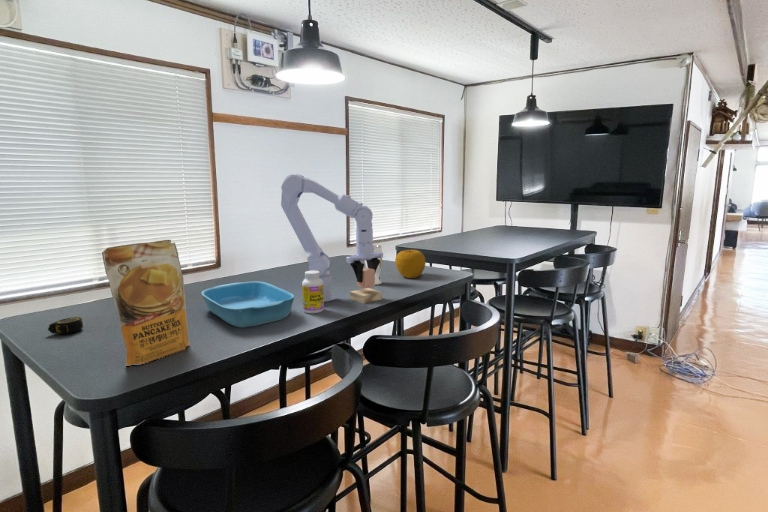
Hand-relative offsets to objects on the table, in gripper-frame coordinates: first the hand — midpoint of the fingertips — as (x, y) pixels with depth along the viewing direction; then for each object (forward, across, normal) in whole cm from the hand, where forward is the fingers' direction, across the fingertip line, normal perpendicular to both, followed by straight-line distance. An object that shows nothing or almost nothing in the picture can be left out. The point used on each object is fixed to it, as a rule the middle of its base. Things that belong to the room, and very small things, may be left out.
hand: (365, 280), depth 158 cm
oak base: (+7, 0, 0) cm, 7 cm away
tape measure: (+7, -84, +30) cm, 90 cm away
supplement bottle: (+7, -21, 0) cm, 22 cm away
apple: (+7, +35, +15) cm, 39 cm away
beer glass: (+7, +16, +16) cm, 24 cm away
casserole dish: (+7, -38, +12) cm, 40 cm away
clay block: (+2, 0, 0) cm, 2 cm away
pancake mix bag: (+7, -69, -6) cm, 70 cm away
